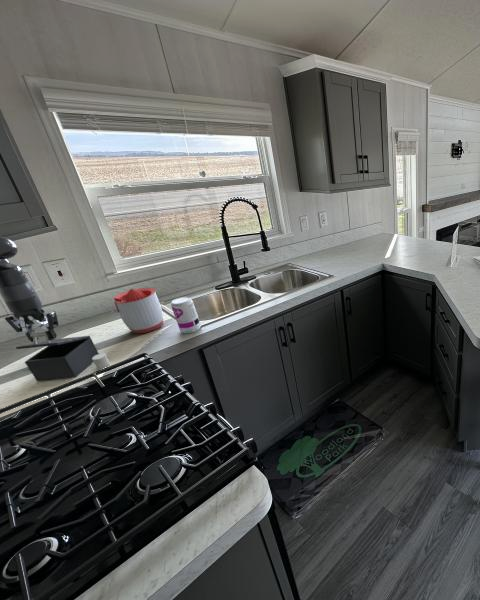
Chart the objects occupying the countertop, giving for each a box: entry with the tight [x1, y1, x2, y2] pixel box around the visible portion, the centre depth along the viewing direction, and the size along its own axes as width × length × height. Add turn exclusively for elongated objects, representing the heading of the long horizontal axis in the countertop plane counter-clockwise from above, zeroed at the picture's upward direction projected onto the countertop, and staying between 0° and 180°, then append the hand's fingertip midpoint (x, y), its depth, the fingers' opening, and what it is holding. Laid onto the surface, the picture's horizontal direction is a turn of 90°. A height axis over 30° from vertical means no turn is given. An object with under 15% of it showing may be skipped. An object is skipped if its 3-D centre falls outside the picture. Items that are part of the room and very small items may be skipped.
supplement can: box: [170, 296, 202, 334], centre depth 147 cm, size 8×8×15 cm
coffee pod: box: [92, 352, 112, 371], centre depth 124 cm, size 4×4×5 cm
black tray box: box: [24, 337, 100, 382], centre depth 124 cm, size 14×13×9 cm
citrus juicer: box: [111, 287, 164, 335], centre depth 148 cm, size 16×17×20 cm
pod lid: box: [15, 330, 91, 350], centre depth 120 cm, size 14×13×5 cm
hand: (44, 339), depth 116 cm, fingers closed on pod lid, 5 cm apart
